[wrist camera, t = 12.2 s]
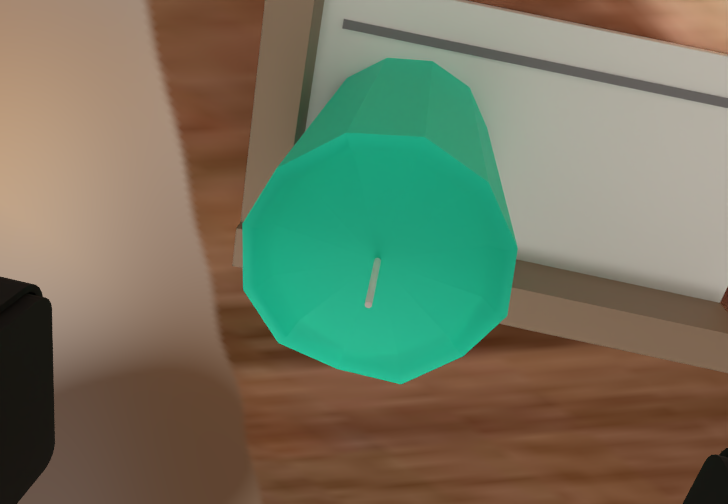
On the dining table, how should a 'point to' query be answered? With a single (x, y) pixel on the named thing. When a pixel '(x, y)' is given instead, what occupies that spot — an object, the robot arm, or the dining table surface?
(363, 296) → the candle
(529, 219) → the jig board
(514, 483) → the dining table surface
